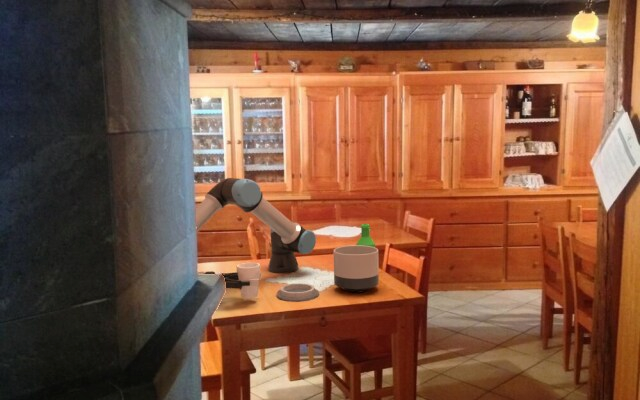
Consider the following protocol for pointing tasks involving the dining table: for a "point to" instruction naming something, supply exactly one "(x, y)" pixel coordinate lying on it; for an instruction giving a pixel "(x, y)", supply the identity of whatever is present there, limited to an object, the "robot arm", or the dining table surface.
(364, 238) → the bottle
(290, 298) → the collar coaster
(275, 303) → the dining table surface
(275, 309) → the dining table surface
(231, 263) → the dining table surface
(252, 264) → the foam cup
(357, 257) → the planter
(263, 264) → the dining table surface
